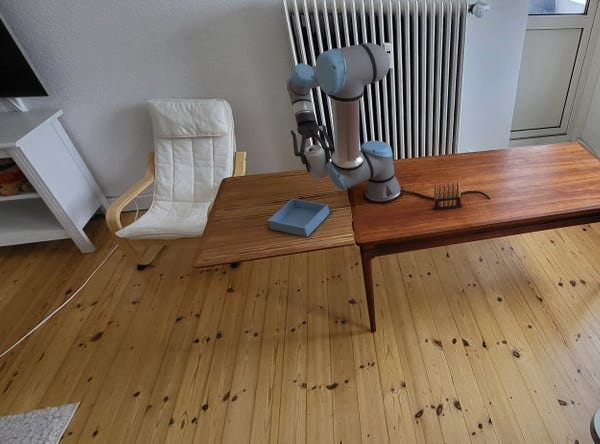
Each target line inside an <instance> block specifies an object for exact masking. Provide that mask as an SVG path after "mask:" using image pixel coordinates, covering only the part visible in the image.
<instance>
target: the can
mask: <svg viewBox="0 0 600 444" xmlns="http://www.w3.org/2000/svg"><path fill="white" fill-rule="evenodd" d="M325 151H326V150H325V149H324V148H323V147H322V145H321V144H313V145H309V146H307V147H305V150H304V155H305V156H306V160H307V163H308V167H309V171H310V172H309V174H310V176H311V177H312V178H315V179H323V178H325V177H327V176H329V174H328V172H327V169H326V164H327V159H326V155H325Z"/></svg>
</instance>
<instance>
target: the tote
mask: <svg viewBox="0 0 600 444" xmlns="http://www.w3.org/2000/svg"><path fill="white" fill-rule="evenodd" d="M330 214H331V211H330V208H329V205H328V204H326V203H320V202H315V201H310V200H304V199H300V198H294V197H292V198H291V199H290V200H289V201H288V202H286V204H284V205H283V206H282V207H281V208H279V210H277V211H276V212H275V213H273V215H272V216H271V217H269V218H268V219H267V223H268V226H269V228H270V230H273V231H280V232H282V233H283V232H284V233H288V234H293V235H298V236H302V237H306V238H308V237H309V236H310V235H311V233H313V231H315V229H317V227H318V226H319V225H320V224H321V223H322V222H323V221H324V220H325V219H326V218H327V217H328V216H329V215H330Z"/></svg>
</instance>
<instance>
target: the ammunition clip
mask: <svg viewBox="0 0 600 444" xmlns="http://www.w3.org/2000/svg"><path fill="white" fill-rule="evenodd" d="M460 193H461V185H460V181H457V182H456V183H455V181H453V182H452V185H451V182H448V183H446V182H443V185H442V182H440V183H439V185H438V184H437V183H435V184H434V191H433V197H435V199H434V210H435V211H436V210H437V211H438V210H446V209H447V210H448V209H456V208H457V209H459V208H461V207H462V201H461V199H462V198H461V195H460Z"/></svg>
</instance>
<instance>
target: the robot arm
mask: <svg viewBox="0 0 600 444" xmlns="http://www.w3.org/2000/svg"><path fill="white" fill-rule="evenodd" d="M390 62H391V61H390V57H389V54H388V53H387V51H386V50H385V48H383V47H382V46H381V45H379V44H376V43H374V42H362V43H358V44H353V45H349V46H344V47H339V48H331V49H329V50H326V51H323V52H321V53H320V54H319V55H318V56H317V59H316V61H315V65H312V66H311V65H309V64H308V63H306V64H305V63H298V64H295V66H294V68H293V69H292V72H291V76H289V77H288V78H287V79H286V82H285V83H286V89H287V92H288V95H289V99H290V103H291V107H292V111H293V115H294V117H295V123H296V127H297V129H295V130H291V131H290V134H291V137H292V144H293V153H294V156H295V157H300V161H301V164H302V165H305V169H306V171H307V173H310V171H309V167H308V163H307V160H306V156H305V149H306V143H307V139H310V138H312V139H313V138H315V139H316V141H318V143H319V145H320V146H321V147H322V148H323V149H324V151H325V155H326V159H327V164H326V169H327V172H328V176H329V179H330V180H331V181H332V183H333V184H334V185H335V187H336V188H338V189H339V190H342V191H343V190H347V189H351V188H352V187H355V186H357V185H359V184H362V183H364V182H366V184H365V189H364V193H365V198H366V199H367V200H368V201H370V202H372V203H377V204H385V203H390V202H392V201H395V200H396V199H398V198H399V197H400V196H401V194H402V193H403V194H409V195H413V196H414V195H415V196H419V197H421V198H423V199H428V200H435V197H434V196H427V195H425V194H422V193H419V192H415V191H412V190H411V191H410V190H404V189H401V185H400V183H399V181H398V179H397V177H396V175H395V174H396V173H395V167H394V158H393V156H394V154H393V151H392V147H391V145H390V144H389V143H387V142H385V141H380V140H369V141H365V142H363V143H362V144H361V145H360V100H362V99H363V97H364V94H365V86H368V85H371V84H375V83H377V82H379V81H381V80H383V79H384V78H385V77H386V76H387V74H388V73H389V70H390V65H391V63H390ZM319 87H320V89H321V90H322V92H323V93H325V94H326V96H327V97H328V98H329V99H330V100H331V113H332V124H333V125H332V126H333V138H334V145H333V143H332V141H331V138H330V136H329V135H328V132H327V126H326V125H325V124H324V125H319V124H318V121H317V118H316V114H315V111H314V107H313V104H312V100H311V95H310V92H311V91H312V89H315V88H319ZM319 131H321V132H322V133H323V135H324V138H325V140H326V143H327V144H326V143H325V141H324V140H323V139H322V137H321V136H320V135H319ZM298 134H299V135H301V143H300V149H299V146H298V138H297V137H298ZM360 146H361V147H360ZM331 151H333V152H332V153H331ZM330 160H331V161H330ZM465 194H479V195H482V196H484V197H485V198H486V199H488V200H491V199H492V198H491V197H490V195H488V194H486V193H485V192H483V191H480V190H465V191H462V192H461V191H460V196H463V195H465Z"/></svg>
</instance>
